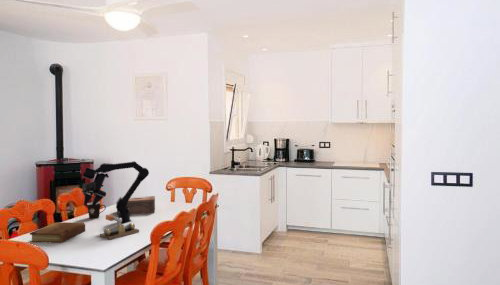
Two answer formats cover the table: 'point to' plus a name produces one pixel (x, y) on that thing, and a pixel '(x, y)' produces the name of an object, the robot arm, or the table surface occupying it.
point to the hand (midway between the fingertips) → (88, 205)
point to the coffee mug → (94, 210)
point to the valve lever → (111, 218)
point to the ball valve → (119, 231)
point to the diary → (57, 232)
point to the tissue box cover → (141, 205)
